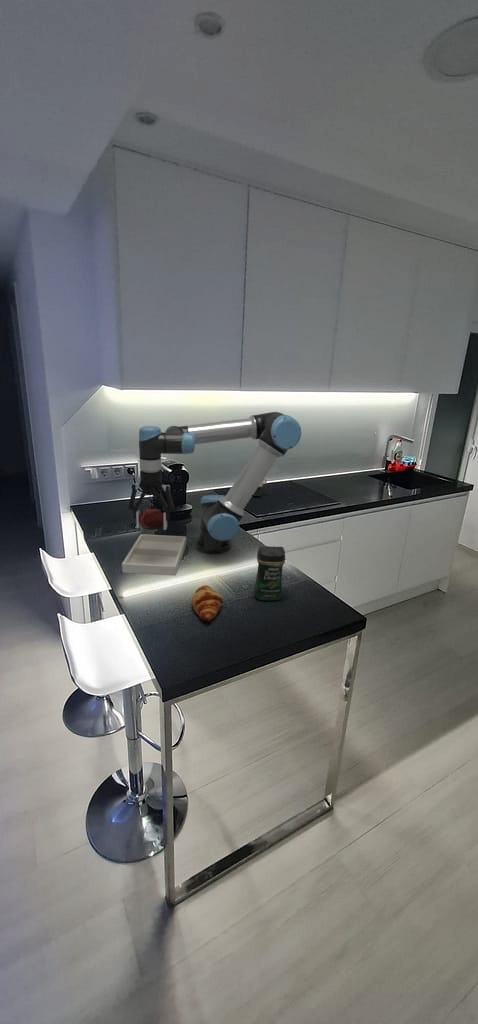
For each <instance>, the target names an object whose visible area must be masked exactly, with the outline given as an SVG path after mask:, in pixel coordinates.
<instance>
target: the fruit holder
mask: <svg viewBox="0 0 478 1024" xmlns="http://www.w3.org/2000/svg"><path fill="white" fill-rule="evenodd" d="M186 546H187V536H184V535H183V536H181V535H162V534H161V535H160V534H159V535H158V534H145V533H144V534H143V533H142V534H139V536H138V538H137V539H136V541H135V542H134V544H133V546H132V547H131V549H130V550H129V552H128V553H127V555H126V557H125V559H124V560H123V561H122V563H121V572H122V573H125V574H143V575H145V574H147V575H160V576H161V575H163V576H176V575H177V573H178V569H179V567H180V564H181V561H182V558H183V555H184V553H185V549H186Z"/></svg>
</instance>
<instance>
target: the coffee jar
mask: <svg viewBox="0 0 478 1024" xmlns="http://www.w3.org/2000/svg"><path fill="white" fill-rule="evenodd" d="M256 561H257V573H256V577H255V582H254V583H255V584H254V590H253V594H254V597H255V598H256V599H257V600H259V601H270V602H271V601H273V602H274V600H275V601H279V600H280V599H281V598H282V596H283V566H284V564H286V552H285V548H284V546H266V545H265V546H264V545H260V546H259V547H258V549H257V554H256Z"/></svg>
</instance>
